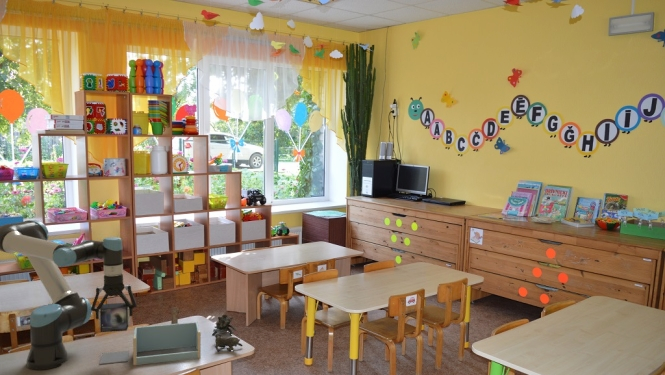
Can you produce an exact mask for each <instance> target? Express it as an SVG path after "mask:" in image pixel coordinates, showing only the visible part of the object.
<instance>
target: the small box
mask: <svg viewBox="0 0 665 375" xmlns="http://www.w3.org/2000/svg"><path fill="white" fill-rule="evenodd" d="M127 310H128V306H127V305H126V304H125V302H118V303H103V305H102V307H101V308H100V321H101V327H100V333H109V332H110V333H111V332H125V331H128V328H129V325H128V312H127Z"/></svg>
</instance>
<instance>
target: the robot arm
mask: <svg viewBox="0 0 665 375" xmlns="http://www.w3.org/2000/svg"><path fill="white" fill-rule="evenodd" d="M49 238H50V237H49V230H48V228H47V226H46V225H45V223H43V222H41V221H39V220H36V219H35V220H31V219H30V220H25V221H20V222H14V223H13V222H12V223H7V224H3V225H1V226H0V252H3V253H6V254H14V253H18V254H21V256H24V257H27V259H28V261H29V262H30V264H31V266H32V267H33V269H34V271H35V273H36V274H37V277H38V278H39V280H40V282H41V283H42V285H43V287H44V289H45V290H46V292H47V294H48V296H49V297H50V300H51V301H52V303H48V304H43V305H40V306H38V307H36V308H35V309H33V310H32V312H31V313H30V316H29V318H30V320H29V327H30V330H29V331H30V349H29V352H28V356H27V358H26V366H27V369H31V370H37V371H39V370H41V371H43V370H49V369H52V368H57V367H59V366H62V364H64V363H65V362H66V361H68V352H67V350H66V347H65V345H64V343H63V342H64V341H63V333H65V332H67V331H70V330H73V329H76V328H78V327H81V326H83V325H85V324H86V323H87V322H89V321H90V320H91V317H92V313H93V312H95V319H96V320H98V328H101V321H100V308H101V307H102V305H103V304H105V303H106V300H107V298H109V297H118V296H119V297H120V299H121V300H122V302H123V303H125V304H126V305H127V306H128V310H127V312H128V326H129V325H130V324H131V317H133V314H134V313H133V309H134V308H137V306H138V304H137V301H136V299H135V296H134V294H133V290H132V285H131V284H126V285H125V284H124V274H123V273H124V263H123V251H124V250H123V248H124V247H123V241H122V238H121V237H118V236H110V237H105V238H103V239H102V241H101V240H93V239H89V240H88V239H85V240H82V241H81V242H80V243H78V244H74V245H69V244H68V245H67V244H63V243H59V242H55V241H51V240H48V239H49ZM90 260H102V261H103V274H104V275H103V286H96V288H95V296H94V300H93V302H92V303H91V302H90V300H89V299H88V298H85V297H81V296H80V295H79V293H78V292H76V291H73V290H72V289H71V287H70V285H69V283H68V282H67V280H66V279H65V277H64V275H63V273H62V271H61V269H60V268H64V267H70V266H72V265H77V264H80V263H84V262H88V261H90ZM59 267H60V268H59ZM124 289H125V291H127V293H128V296H129V298H130V301H131V302H130V301H129V299H128V298H127V296H126V295H125V294H124V292H123V290H124ZM102 291H103V292H104V293H105V294H104V296H103V297H102V299H101V300H100V302H99V304H98V305H97V302H98V299H99V297H100V296H99V295H100V293H101V292H102ZM96 305H97V306H96Z"/></svg>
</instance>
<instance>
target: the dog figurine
mask: <svg viewBox="0 0 665 375" xmlns="http://www.w3.org/2000/svg"><path fill="white" fill-rule="evenodd" d="M214 337H215V340H214V341H215V342H214V344H215V345H214V349H215V350H216V351H217V353H220V352H219V351H220V350H219V348H222V347H226V348H225V349H226V350H227V351H229V350H233V351H234V347H237V345H238V346H240V347H243V344H242V343H240V340H241V338H240V339H239V338H238V337H235V336H232V337H226V338H225V337H222V334H221V333H216V334H214Z"/></svg>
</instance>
